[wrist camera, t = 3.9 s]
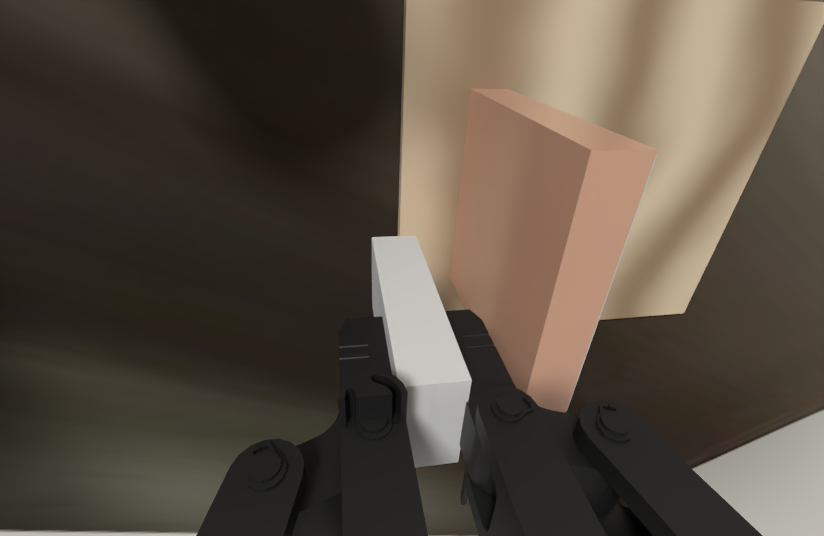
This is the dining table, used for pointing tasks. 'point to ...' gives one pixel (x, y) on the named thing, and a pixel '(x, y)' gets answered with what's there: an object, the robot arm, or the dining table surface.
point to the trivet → (606, 113)
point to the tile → (542, 233)
